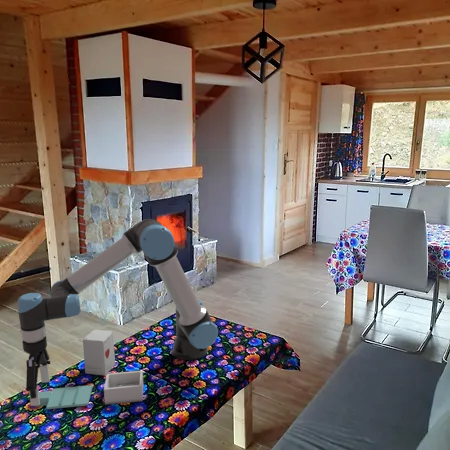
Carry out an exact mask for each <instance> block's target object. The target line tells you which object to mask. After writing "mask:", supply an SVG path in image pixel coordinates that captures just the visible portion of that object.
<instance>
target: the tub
mask: <svg viewBox="0 0 450 450" xmlns="http://www.w3.org/2000/svg"><path fill="white" fill-rule="evenodd" d="M103 395H104V405H105V406H107V405H115V404H126V403H134V402H135V403H136V402H143V399H144V371H143V370H134V371H133V370H132V371H124V372H112V373H107V374H106V377H105V382H104V386H103Z"/></svg>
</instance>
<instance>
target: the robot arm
mask: <svg viewBox="0 0 450 450" xmlns="http://www.w3.org/2000/svg"><path fill="white" fill-rule="evenodd" d="M141 252H142V253H143V255H144V257H145V259H146V260H147V262H148V264H149V266H152V267H155V269H156V271H157V272H158V275H159V277H160V278H161V281H162V282H163V284H164V287H165V288H166V290H167V292H168V293H169V294H168V295H169V296H170V298H171V300H172V302H173V304H174V305H175V306H174V307H175V328H176V336H175V338H174V339H175V340H174V342H173V346H172V353H173V355H174V357H176V358H177V359H180V360H184V361H185V360H186V361H193V360H198V359H201V358H203V357H205V356H206V355H207V354H208V353H209V352H208V351H209V349H208V347H209V348H210V346H212V345H213V344H214V343H215V342H216V340H217V338H218V335H219V330H218V327H217V325H216V323H214V322H213V320H212V318H211V316H210V314H209V312H208V310H207V308H206V307H205V305H203V304H204V303H203V301H202V300H200V299H198V298H197V296H196V294H195V292H194V290H193V289H192V285H191V284H190V282H189V280H188V278H187V276H186V274H185V271H184V269H183V268H182V265H181V263H180V261H179V259H178V257H177V255H178V253H179V250H178V248H177V245H176V244H175V238H174V236H173V233H172V231H170V228H168V227H166V226H164V225H163V224H162V223H161V222H159V221H158V220H156V219H153V218H148V219H147V218H146V219H143V220H141V221H139V222H137V223H136V224H135V225H133V226H132V227H131V228H128V230H126V231H124V232H123V234H122V236H121V238H120V239H118V240H116V242H114V243H112V244H111V245H110V246H109V247H107V248H106V249H104V250H103V251H101V252H100V253H99V254H98V255H96V256H95V257H93V258H92V259H90V260H89V261H88V262H86V263H85V264H84V265H82V266H81V267H80V268H78V269H76V271H74V272H73V273H71V274H70V275H69V276H68V277H66V278H65V279H63V280H58V281H56V282H54V283H53V284H52V286H51V289H50V290H49V295H50V297H46V298H43V296H42V294H41V293H40V292H28V293H24V294H23V295H21V296H20V297H19V298H18V299H17V308H18V310H17V312H18V319H19V324H20V325H19V326H20V330H19V333H20V334H21V338H22V350H23V352H25V353H26V354H29V355H28V359H27V360H26V378H25V379H26V381H25V382H26V383H25V391H26V392H28V393H29V402H30V407H33V406H34V407H35V405H40V400H39V392H40V391H39V387H38V385H37V384H38V377H39V376H38V375H39V373H40V381H41V383H50V382H51V379H50V371H49V365H51V360H50V357H49V353H48V350H47V346H48V339H47V336H46V335H47V333H46V332H47V331H46V324H45V322H46V321H51V320H57V319H64V318H71V317H74V316H79V315H80V314H81V304H80V303H81V302H80V297H79V294H81V293H82V292H83V291H85V290H86V289H87V288H88V287H90V286H92V284H94V283H95V282H98V280H100V279H101V278H102V277H104V276H105V275H106V274H107V273H109V272H111V271H112V270H113V269H115V268H116V267H117V266H119V265H120V264H122V263H123V262H124V261H125V260H127V259H128V258H130V257H131V256H132V255H134V254H139V253H141Z"/></svg>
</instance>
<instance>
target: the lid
mask: <svg viewBox="0 0 450 450" xmlns="http://www.w3.org/2000/svg"><path fill="white" fill-rule="evenodd" d="M92 391H93V384H90V385H78V386H69V387H68V386H66V387H59V388H58V387H56V388H53V390H46V391H38V392H39V400H40V405H35V406H34V407H43V406H45V407H46V408H45V409H46V410H52V409H53V410H54V409H63V408H75V407H83V406H84V407H85V406H89V403H90V400H91V399H90V398H91V395H92Z"/></svg>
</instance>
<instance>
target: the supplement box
mask: <svg viewBox="0 0 450 450" xmlns="http://www.w3.org/2000/svg"><path fill="white" fill-rule="evenodd" d="M82 345H83V360H84V371H85V372H84V373H85V374H87V375H88V374H89V375H97V376H106V377H107V374H109V372H110V371H111V370H112V369H113V368H114V366H115V365H116V355H115V341H114V331H111V330H101V329H93V330H92V331H91V332H90V333H89V332H88V334H87V335H86V336H85V337H84V338H83V339H82Z"/></svg>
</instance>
